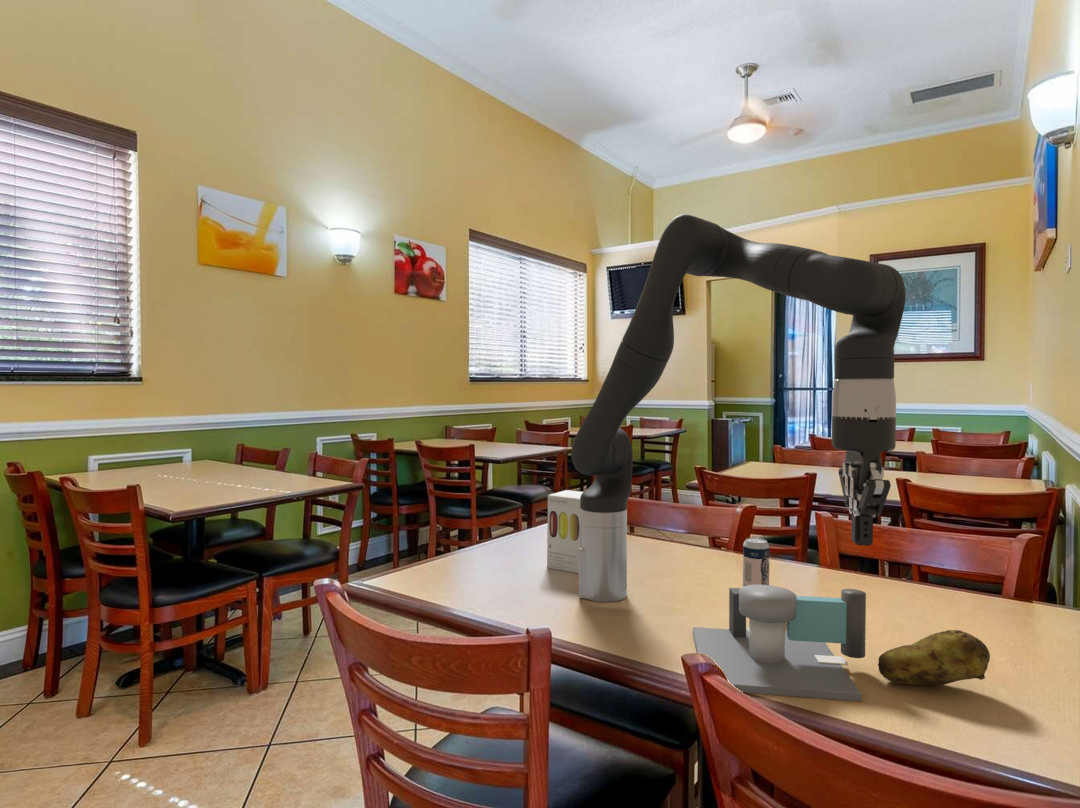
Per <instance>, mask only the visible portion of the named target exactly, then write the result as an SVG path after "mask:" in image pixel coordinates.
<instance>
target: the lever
mask: <svg viewBox="0 0 1080 808" xmlns="http://www.w3.org/2000/svg"><path fill="white" fill-rule="evenodd" d="M739 588H740V589H739V612H740V613H741V614H742V615H743V616H745V617H746V619H749V618H750V619H753V620H756V621H761V622H768V623H785V624H786V633H787V637H788V638H789V640H793V641H809V642H825V643H826V644H829V643H830V644H840V654H842V655H844V656H845V657H849V658H853V659H864V658H865V657H866V630H867V629H866V617H867V615H866V614H867V613H866V612H867V611H866V610H867V609H866V608H867V607H866V605H867V602H866V601H867V594H866V592H865V591H863V590H860V589H857V588H843V589H841V591H840V595H841V596H840V597H828V596H813V595H812V596H809V595H808V596H806V595H796V593H795V592H793V591H792V590H790V589H787V588H784V587H780V586H776V585H770V584H769V585H747V586H743V585H742V586H741V587H739Z"/></svg>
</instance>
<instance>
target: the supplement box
mask: <svg viewBox="0 0 1080 808" xmlns="http://www.w3.org/2000/svg"><path fill="white" fill-rule="evenodd" d="M583 492H584V491H578V490H577V491H576V490H570V489H565V490H561V491H558V492H554V493H550V494H548V495H547V536H546V537H547V547H546V558H547V559H546V568H548V569H554V570H558V571H562V572H569V573H574V574H578V575H579V548H580V497H581V494H582V493H583Z"/></svg>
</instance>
